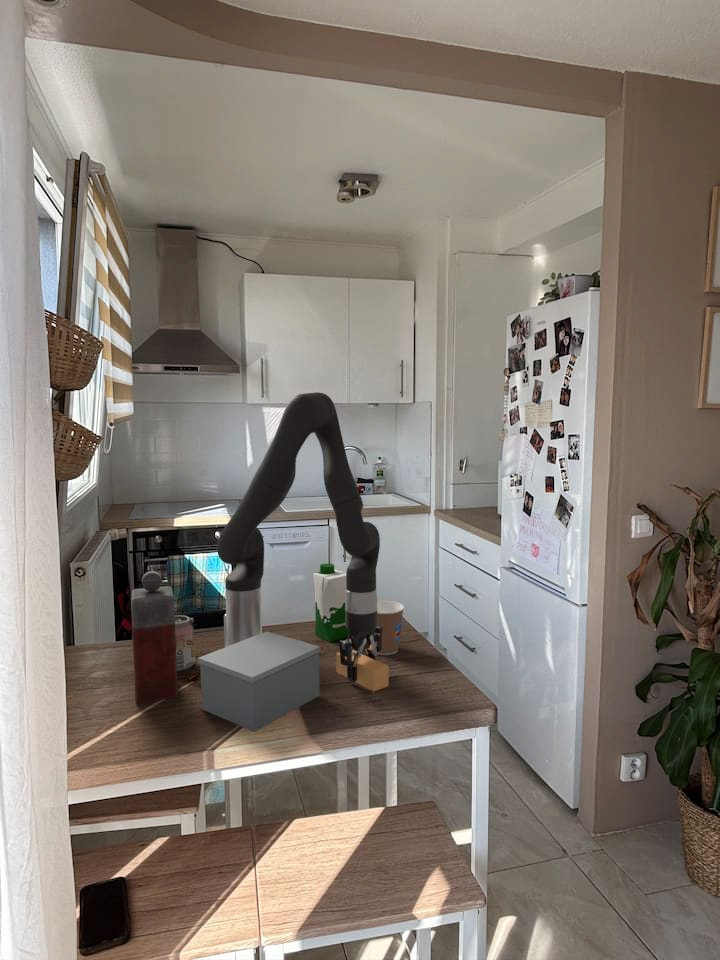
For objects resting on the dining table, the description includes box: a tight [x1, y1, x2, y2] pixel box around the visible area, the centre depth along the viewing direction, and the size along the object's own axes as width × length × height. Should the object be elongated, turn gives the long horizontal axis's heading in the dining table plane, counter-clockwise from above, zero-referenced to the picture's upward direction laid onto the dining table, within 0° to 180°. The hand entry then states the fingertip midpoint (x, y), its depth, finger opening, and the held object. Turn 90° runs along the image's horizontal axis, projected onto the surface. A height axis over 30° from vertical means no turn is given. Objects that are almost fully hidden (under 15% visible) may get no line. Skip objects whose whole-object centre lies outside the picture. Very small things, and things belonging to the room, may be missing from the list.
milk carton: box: [312, 563, 349, 643], centre depth 182 cm, size 9×9×20 cm
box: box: [199, 652, 320, 732], centre depth 142 cm, size 16×20×10 cm
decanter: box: [130, 570, 179, 704], centre depth 148 cm, size 9×11×28 cm
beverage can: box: [175, 614, 196, 672], centre depth 163 cm, size 9×8×12 cm
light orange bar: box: [335, 649, 390, 692], centre depth 155 cm, size 14×4×5 cm, turn 40°
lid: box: [197, 631, 321, 683], centre depth 141 cm, size 17×20×1 cm
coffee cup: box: [375, 600, 405, 656], centre depth 172 cm, size 10×10×12 cm
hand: (361, 675), depth 155 cm, fingers open, 6 cm apart
